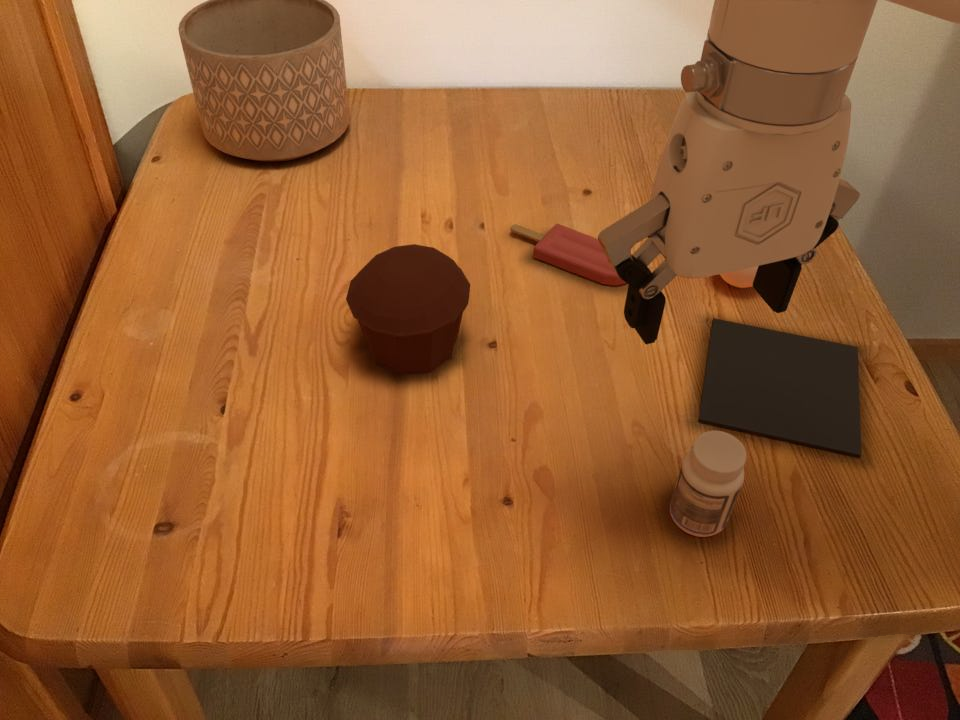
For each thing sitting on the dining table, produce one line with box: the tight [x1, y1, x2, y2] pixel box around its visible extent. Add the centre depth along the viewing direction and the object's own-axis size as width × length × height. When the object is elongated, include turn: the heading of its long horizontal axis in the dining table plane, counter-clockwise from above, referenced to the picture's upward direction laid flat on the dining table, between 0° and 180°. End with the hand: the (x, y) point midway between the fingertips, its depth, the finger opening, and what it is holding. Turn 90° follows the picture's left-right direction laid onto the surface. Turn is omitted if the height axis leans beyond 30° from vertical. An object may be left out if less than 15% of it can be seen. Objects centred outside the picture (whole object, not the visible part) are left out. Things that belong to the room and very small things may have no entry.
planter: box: [177, 0, 351, 163], centre depth 105 cm, size 19×19×14 cm
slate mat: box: [697, 317, 862, 459], centre depth 80 cm, size 14×14×1 cm
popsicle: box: [509, 223, 627, 287], centre depth 92 cm, size 5×2×15 cm
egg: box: [719, 266, 758, 289], centre depth 87 cm, size 6×6×8 cm
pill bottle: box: [669, 430, 747, 538], centre depth 66 cm, size 5×5×8 cm
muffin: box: [345, 243, 471, 376], centre depth 79 cm, size 12×11×10 cm
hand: (705, 314), depth 57 cm, fingers open, 9 cm apart
